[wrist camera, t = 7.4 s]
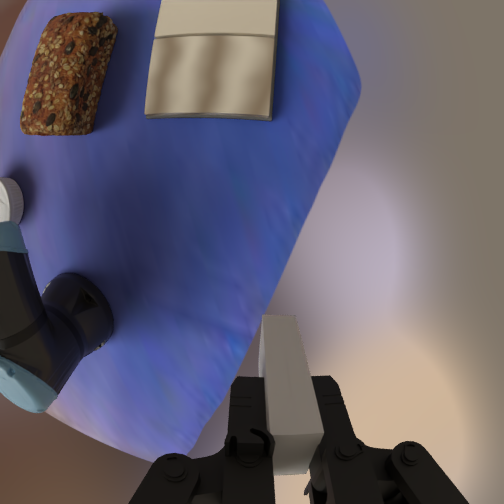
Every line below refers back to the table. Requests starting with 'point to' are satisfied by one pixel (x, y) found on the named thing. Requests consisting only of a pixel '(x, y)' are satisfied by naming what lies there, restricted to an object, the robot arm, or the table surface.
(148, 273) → the table surface
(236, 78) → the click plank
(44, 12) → the table surface
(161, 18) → the floor base
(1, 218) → the ramekin
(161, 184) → the table surface
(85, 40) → the bread
